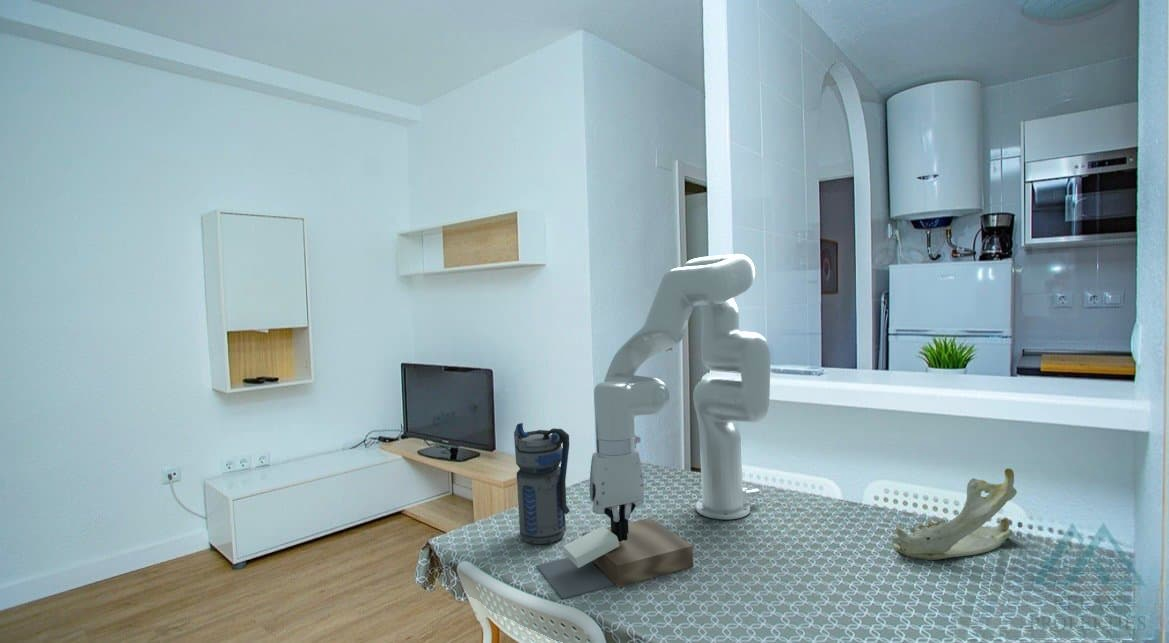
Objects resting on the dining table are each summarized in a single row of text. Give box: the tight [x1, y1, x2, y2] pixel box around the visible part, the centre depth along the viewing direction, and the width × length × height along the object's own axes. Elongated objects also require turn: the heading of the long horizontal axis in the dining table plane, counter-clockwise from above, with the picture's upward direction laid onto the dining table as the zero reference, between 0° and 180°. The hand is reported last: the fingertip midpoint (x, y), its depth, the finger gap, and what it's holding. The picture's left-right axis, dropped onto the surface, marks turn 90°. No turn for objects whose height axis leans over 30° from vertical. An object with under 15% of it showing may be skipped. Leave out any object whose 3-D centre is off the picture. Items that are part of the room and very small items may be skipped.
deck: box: [581, 517, 694, 588], centre depth 114 cm, size 16×16×4 cm
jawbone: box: [891, 467, 1018, 561], centre depth 110 cm, size 25×18×10 cm
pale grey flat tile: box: [563, 525, 620, 568], centre depth 110 cm, size 9×6×2 cm, turn 114°
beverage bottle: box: [513, 422, 571, 545], centre depth 126 cm, size 10×13×25 cm
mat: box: [536, 556, 615, 601], centre depth 109 cm, size 10×14×1 cm
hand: (620, 538), depth 113 cm, fingers closed
